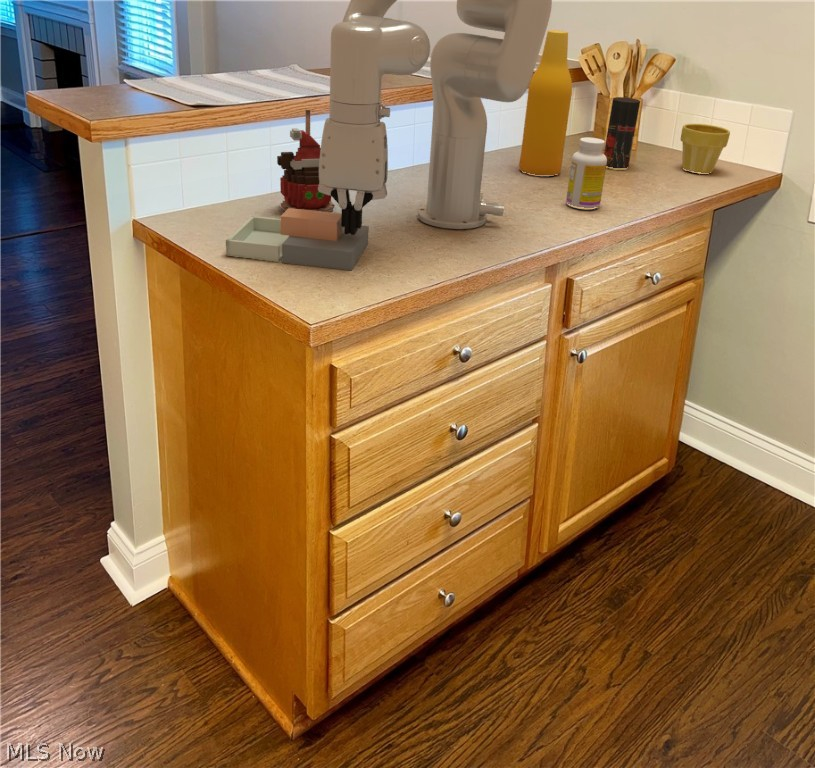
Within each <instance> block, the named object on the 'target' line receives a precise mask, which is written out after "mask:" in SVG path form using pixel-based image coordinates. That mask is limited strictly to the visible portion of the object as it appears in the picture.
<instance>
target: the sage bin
mask: <svg viewBox="0 0 815 768" xmlns="http://www.w3.org/2000/svg"><path fill="white" fill-rule="evenodd" d="M288 237H289V235H281V218H273V217H266V216H265V217H264V216H255V215H251V216H250V217H249V218H248V219H246V221H245V222H243V224H242V225H240V226H239V227H238V228H237V229H236V230H234V232H233V233H231V235H230V236H229V237H228V238H227V239H226V240H225V255H227V256H226V257H228V256H236V257H235V258H237V256H238V257H245V258H244V259H246V258H252V259H251V260H254V259H259V260H258V261H263V260H265V261H264V262H272V261H273V263H274V262H275V263H279V262H280V261H282V244H283V243H284V241H285V240H286V239H287V238H288Z"/></svg>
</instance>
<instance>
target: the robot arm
mask: <svg viewBox="0 0 815 768" xmlns="http://www.w3.org/2000/svg"><path fill="white" fill-rule="evenodd" d="M397 1H398V0H350V1H349V4H348V7H347V9H346V11H345V13H344V16H343V19H342V22H341V21H340V22H338V23H336V24H334V25H333V27H332V29H331V33H330V60H329V61H330V62H329V63H330V66H329V67H330V68H329V69H330V70H329V71H330V73H329V74H330V75H329V117H327V118H326V119H325V121H324V125H323V131H322V137H321V143H320V148H321V150H320V160H319V181H320V182H319V186H318V191H319V192H321V193H324V194H327V195H330V196H331V198H332V199H334V200H335V202H336V203H337V204H338V206H339V208H340V209H341V214H342V215H341V226H342V227H345V229H344V234H349V233H350V234H351V235H355V234H356V232H357V230H358V228H359V229H360V228H361V226H363V225H362V224H363V208H364V207H365V206H366V205H368V203H370V202H371V201H375V200H383V199H385V198H387V195H388V189H387V182H388V175H389V173H388V172H389V153H388V151H389V149H388V135H387V127H386V123H385V122H384V121H381V120H382V119H383V118H390V117H391V108H390V107H386V106H384V105H383V102H382V84H383V82H382V81H383V76H384V75H395V76H409V75H412V74H415V73H417V72H419V71H420V70H421V69H422V68H423V67H425V65H426V63H427V62H428V60H429V57H430V61H429V62H430V64H429V66H430V70H429V71H430V78H431V86H432V101H433V102H432V103H433V104H432V105H433V108H432V125H431V140H430V150H429V151H430V153H429V155H430V156H429V170H428V181H427V182H428V183H427V184H428V185H427V197H426V204H424V205H421V206H420V207H418V209H417V218H418V219H419V220H420V222H423V224H427V225H428V226H433V227H437V228H441V229H449V230H450V229H451V230H466V229H468V230H469V229H474V228H479V227H481V226H483V225H484V224H485V223H486V222H487V218H488V216H487V215H492V216H497V217H503V216H504V209H505V205H502V204H499V202H497V201H486V199H483V197H484V196H483V195H484V193H483V192H481V190H482V180H483V171H484V170H483V169H484V161H485V160H484V159H485V152H486V151H485V149H486V142H487V130H488V119H487V118H488V117H487V113H486V109H485V106H484V104H483V101H482V99H485V100H490V101H496V102H501V103H513V102H517V101H518V100H520V99H521V98H522V97H523V96H524V94H525V93H526V92H527V90H528V89H529V85H530V82H531V79H532V77H533V74H534V73H535V68H536V65H537V63H538V59H539V54H540V51H541V48H542V46H543V41H544V38H545V35H546V33H547V28H548V26H549V25H548V24H549V21H550V17H551V12H552V7H553V5H552V2H553V0H456V14H457V16H458V19H459V20H460V21H461V22H462V23H464V24H466V25H467V26H469V27H474V28H477V29H482V30H489V31H495V32H503V33H504V36H503V39H502V38H496V37H491V36H487V35H480V34H473V33H466V32H454V33H449V34H446V35H444V36H443V37H441V38H440V39H439V40H438V41H437V42H436V43H435V45H434V46H433V48H432V52H431V44H430V43H431V42H430V39H429V36H428V34H427V33H426V31H425V30H424V29H423V28H422V27H421V26H419V25H418V24H416V23H414V22H410V21H407V20H400V19H394V18H388V17H384V16H385V15H386V13H387V12H388V11H389V10H390V8H391V6H393V5H394V4H395V3H396V2H397ZM430 54H431V56H430ZM350 191H354V192H356V194H355V200H354V203H353V204H352V201H351V195H350Z"/></svg>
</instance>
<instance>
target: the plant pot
mask: <svg viewBox="0 0 815 768" xmlns="http://www.w3.org/2000/svg"><path fill="white" fill-rule="evenodd" d="M730 135H731V131H730V130H729V129H727V128H724V127H721V126H717V125H712V124H704V123H703V124H702V123H685V124H683V125H682V129H681V134H680V142H682V158H681V159H682V162H681V163H682V166H681V167H683V168H684V169H686V170H689V171H694V172H701V173H710V172H712V173H713V171H714V169H715V168H716V164H717V163H718V160H719V158H720V156H721V153H722V151H723V149H724V148H726V147H727V146H728V143H729V139H730ZM683 168H682V169H683Z"/></svg>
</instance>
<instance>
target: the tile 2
mask: <svg viewBox="0 0 815 768" xmlns="http://www.w3.org/2000/svg"><path fill="white" fill-rule="evenodd" d="M341 215H342V213H339V212H332V211H330V212H321V211H315V213H314V214H313V215H312V216H311V217H310V218H309V238H315V239H324V240H333V241H337V239H338V238H339V237H340V235H341V234H342V232H343V227H342V226H341Z"/></svg>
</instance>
